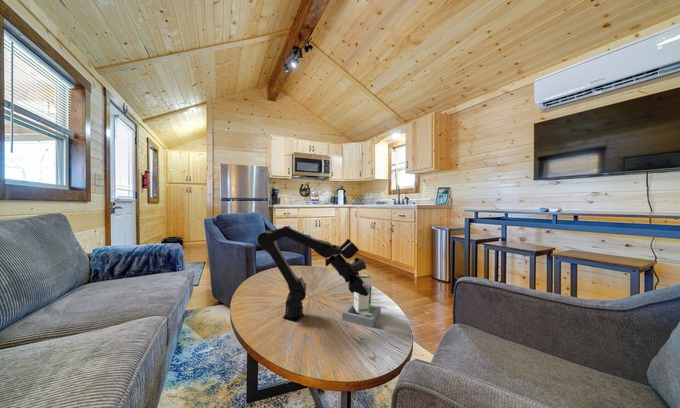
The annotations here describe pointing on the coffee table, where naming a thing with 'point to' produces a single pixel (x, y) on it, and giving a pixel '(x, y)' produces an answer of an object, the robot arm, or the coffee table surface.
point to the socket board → (360, 319)
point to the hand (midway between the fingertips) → (365, 292)
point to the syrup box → (361, 301)
